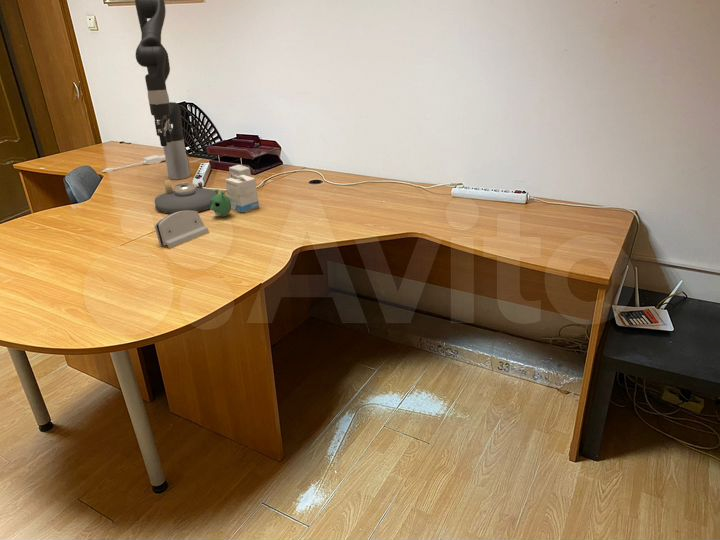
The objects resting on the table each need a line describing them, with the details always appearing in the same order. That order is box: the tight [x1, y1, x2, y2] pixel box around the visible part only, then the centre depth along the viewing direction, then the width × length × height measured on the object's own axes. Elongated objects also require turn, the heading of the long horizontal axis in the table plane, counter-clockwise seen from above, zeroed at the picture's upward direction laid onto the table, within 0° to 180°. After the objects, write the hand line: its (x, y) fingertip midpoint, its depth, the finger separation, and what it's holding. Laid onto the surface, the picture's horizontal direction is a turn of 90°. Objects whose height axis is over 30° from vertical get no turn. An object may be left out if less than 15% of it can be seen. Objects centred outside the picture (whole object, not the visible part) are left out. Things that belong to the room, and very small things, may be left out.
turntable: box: [153, 179, 217, 215], centre depth 197 cm, size 24×24×8 cm
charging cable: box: [101, 154, 166, 173], centre depth 253 cm, size 5×32×3 cm, turn 134°
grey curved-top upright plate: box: [154, 210, 210, 249], centre depth 166 cm, size 17×5×10 cm, turn 146°
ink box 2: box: [225, 174, 260, 214], centre depth 192 cm, size 9×8×13 cm
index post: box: [197, 182, 204, 189], centre depth 211 cm, size 2×2×4 cm
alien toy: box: [209, 189, 232, 218], centre depth 184 cm, size 7×8×10 cm
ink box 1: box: [228, 164, 252, 178], centre depth 206 cm, size 9×5×12 cm, turn 46°
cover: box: [173, 182, 196, 197], centre depth 201 cm, size 8×8×3 cm
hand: (166, 144), depth 204 cm, fingers open, 8 cm apart
